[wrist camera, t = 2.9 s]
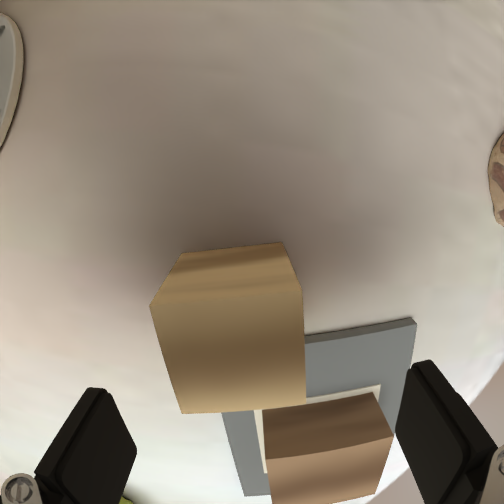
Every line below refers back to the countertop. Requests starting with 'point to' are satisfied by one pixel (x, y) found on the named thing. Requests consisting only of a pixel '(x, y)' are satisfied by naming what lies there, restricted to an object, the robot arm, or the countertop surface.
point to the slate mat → (331, 387)
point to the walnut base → (326, 450)
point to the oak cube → (233, 330)
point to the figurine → (497, 179)
